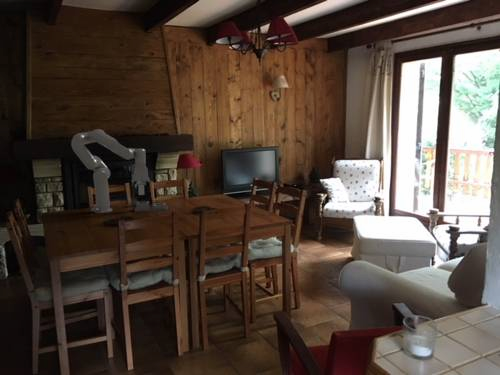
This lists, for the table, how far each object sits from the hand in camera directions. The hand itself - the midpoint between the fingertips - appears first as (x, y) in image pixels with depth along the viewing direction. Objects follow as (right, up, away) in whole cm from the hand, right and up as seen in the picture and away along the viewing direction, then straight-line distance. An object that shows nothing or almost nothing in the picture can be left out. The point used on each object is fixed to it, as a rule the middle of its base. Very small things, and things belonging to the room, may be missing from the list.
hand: (141, 190), depth 316 cm
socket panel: (+7, -15, +4) cm, 16 cm away
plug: (0, -3, 0) cm, 3 cm away
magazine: (-3, -12, +20) cm, 24 cm away
